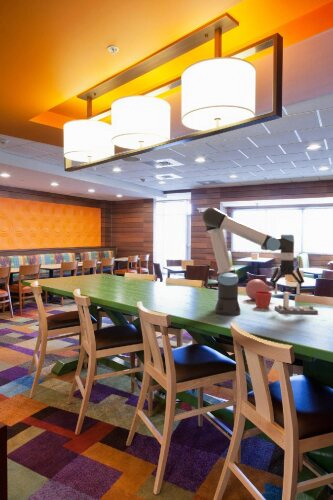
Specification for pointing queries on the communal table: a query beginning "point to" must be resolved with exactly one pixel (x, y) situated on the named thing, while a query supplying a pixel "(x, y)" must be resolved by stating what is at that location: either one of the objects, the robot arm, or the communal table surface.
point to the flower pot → (262, 299)
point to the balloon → (256, 287)
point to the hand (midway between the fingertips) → (286, 294)
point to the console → (296, 310)
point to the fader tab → (286, 300)
